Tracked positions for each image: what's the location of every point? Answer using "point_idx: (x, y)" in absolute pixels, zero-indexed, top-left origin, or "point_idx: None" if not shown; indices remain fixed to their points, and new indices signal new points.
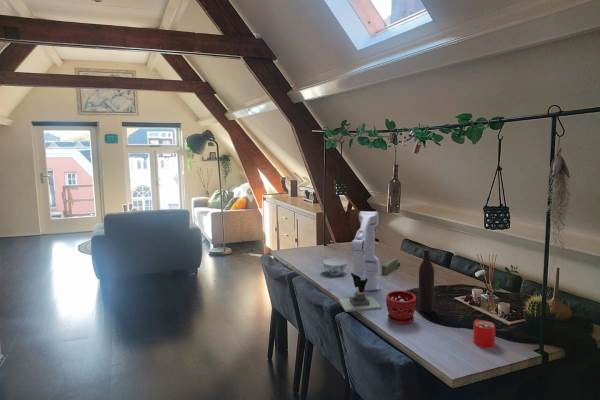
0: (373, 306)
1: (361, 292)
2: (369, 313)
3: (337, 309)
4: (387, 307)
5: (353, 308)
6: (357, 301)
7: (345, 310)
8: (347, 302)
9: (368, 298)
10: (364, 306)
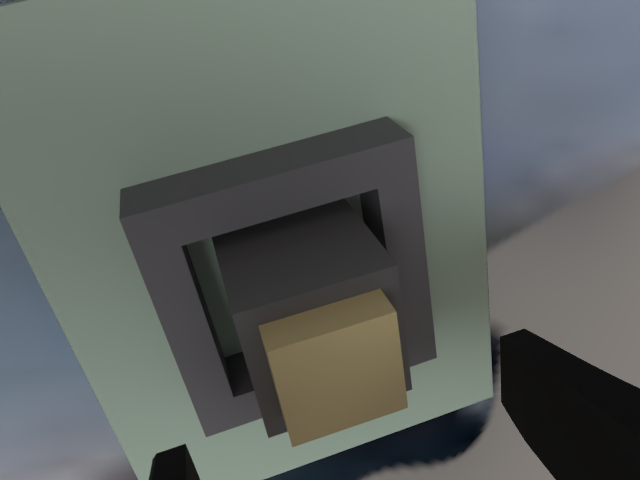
0: (444, 51)
1: (398, 345)
2: (576, 118)
3: (403, 459)
4: None
5: (467, 323)
6: None
7: (485, 392)
8: None
9: (57, 115)
10: (424, 192)
